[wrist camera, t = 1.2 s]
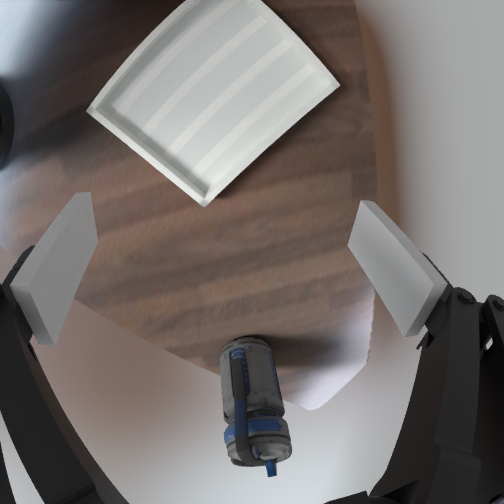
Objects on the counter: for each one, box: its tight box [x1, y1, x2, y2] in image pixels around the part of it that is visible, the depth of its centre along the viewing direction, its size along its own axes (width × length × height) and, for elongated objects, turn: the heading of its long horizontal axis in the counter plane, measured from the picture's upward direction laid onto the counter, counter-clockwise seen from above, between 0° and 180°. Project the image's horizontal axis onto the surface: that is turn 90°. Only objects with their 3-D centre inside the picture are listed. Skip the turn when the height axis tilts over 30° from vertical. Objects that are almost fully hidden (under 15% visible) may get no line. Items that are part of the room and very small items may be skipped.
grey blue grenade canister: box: [220, 337, 292, 477], centre depth 46 cm, size 10×13×25 cm
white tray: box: [86, 0, 340, 207], centre depth 30 cm, size 19×22×3 cm
